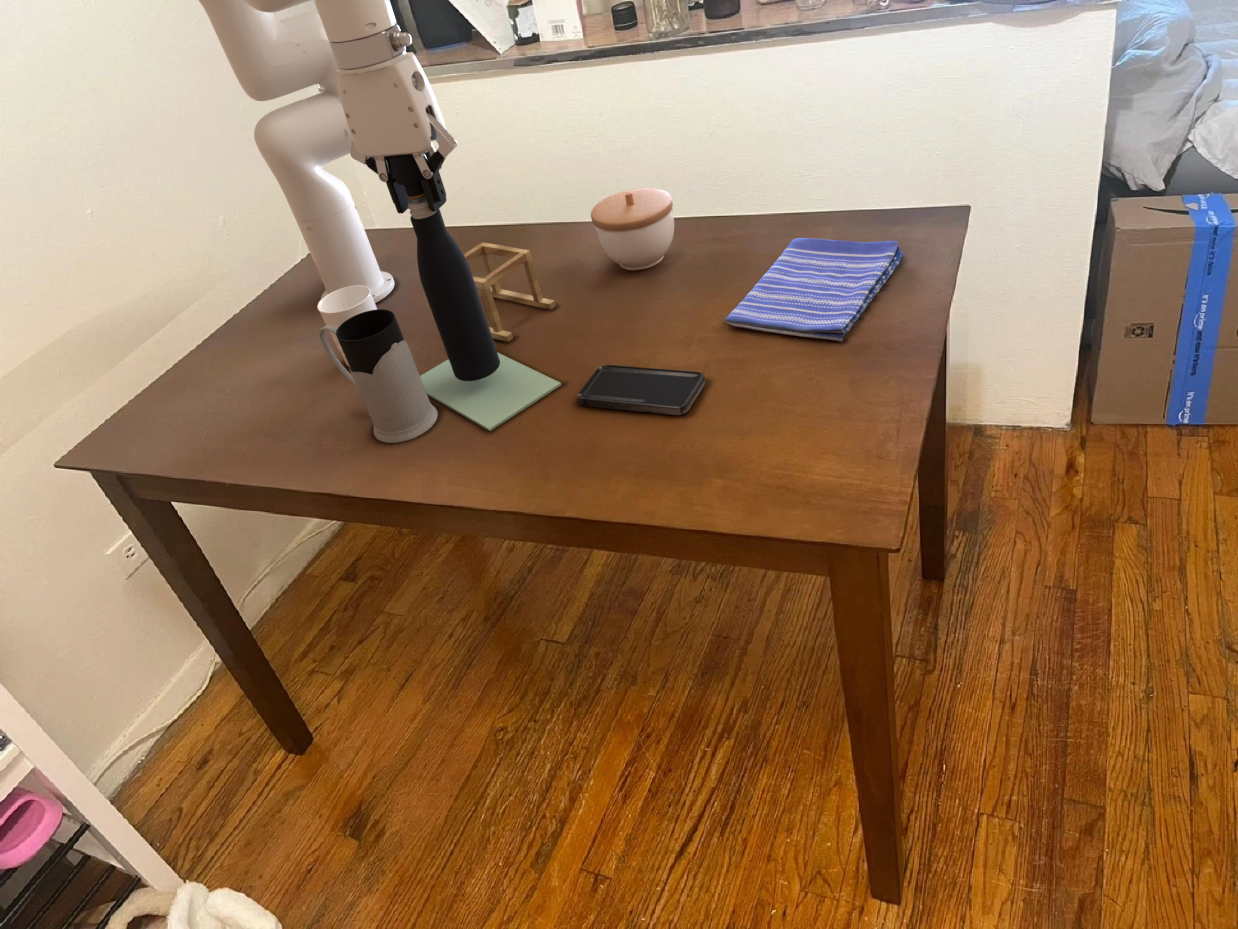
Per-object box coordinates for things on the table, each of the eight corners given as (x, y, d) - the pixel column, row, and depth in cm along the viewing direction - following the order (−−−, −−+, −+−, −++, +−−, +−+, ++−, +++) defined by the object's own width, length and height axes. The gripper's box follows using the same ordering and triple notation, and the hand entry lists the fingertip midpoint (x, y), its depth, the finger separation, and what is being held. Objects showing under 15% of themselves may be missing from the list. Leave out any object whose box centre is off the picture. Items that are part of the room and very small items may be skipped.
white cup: (404, 344, 143) (381, 285, 137) (373, 373, 138) (348, 313, 132) (363, 341, 147) (339, 284, 141) (332, 369, 141) (306, 311, 135)
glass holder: (408, 448, 121) (365, 347, 112) (332, 429, 128) (287, 333, 119) (450, 409, 126) (414, 310, 117) (375, 393, 133) (335, 299, 124)
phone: (600, 364, 125) (706, 372, 118) (602, 371, 126) (708, 379, 119) (574, 398, 120) (683, 409, 113) (576, 405, 120) (685, 416, 114)
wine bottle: (492, 380, 125) (419, 158, 106) (447, 383, 126) (368, 165, 108) (506, 353, 129) (438, 137, 111) (463, 356, 131) (389, 144, 113)
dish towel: (906, 256, 134) (906, 237, 132) (845, 344, 119) (844, 325, 118) (793, 247, 143) (791, 230, 141) (723, 328, 128) (720, 310, 127)
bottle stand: (444, 325, 146) (424, 271, 140) (491, 292, 151) (475, 239, 146) (508, 342, 137) (490, 285, 132) (556, 306, 143) (541, 250, 138)
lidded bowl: (682, 270, 144) (671, 201, 138) (601, 284, 146) (586, 217, 139) (679, 235, 154) (668, 169, 148) (603, 248, 156) (589, 184, 149)
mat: (409, 384, 133) (408, 382, 133) (477, 344, 139) (476, 342, 138) (489, 431, 120) (489, 428, 120) (561, 385, 125) (560, 382, 125)
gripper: (450, 29, 103) (496, 190, 114) (323, 46, 109) (379, 197, 120) (419, 51, 97) (470, 218, 108) (287, 68, 103) (349, 224, 114)
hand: (422, 206), depth 114 cm, fingers closed on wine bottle, 3 cm apart
